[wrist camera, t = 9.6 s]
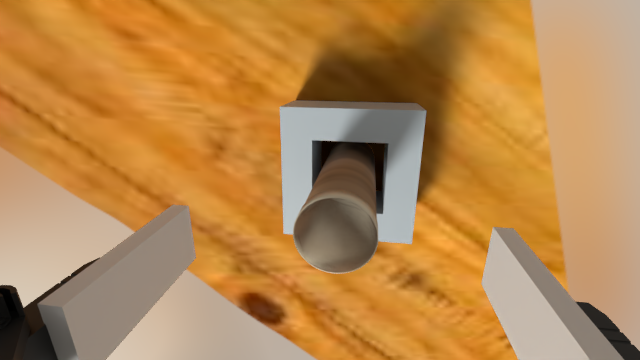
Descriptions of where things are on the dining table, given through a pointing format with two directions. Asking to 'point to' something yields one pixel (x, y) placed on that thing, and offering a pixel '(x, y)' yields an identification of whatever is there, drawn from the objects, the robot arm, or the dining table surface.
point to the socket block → (355, 126)
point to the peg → (340, 212)
